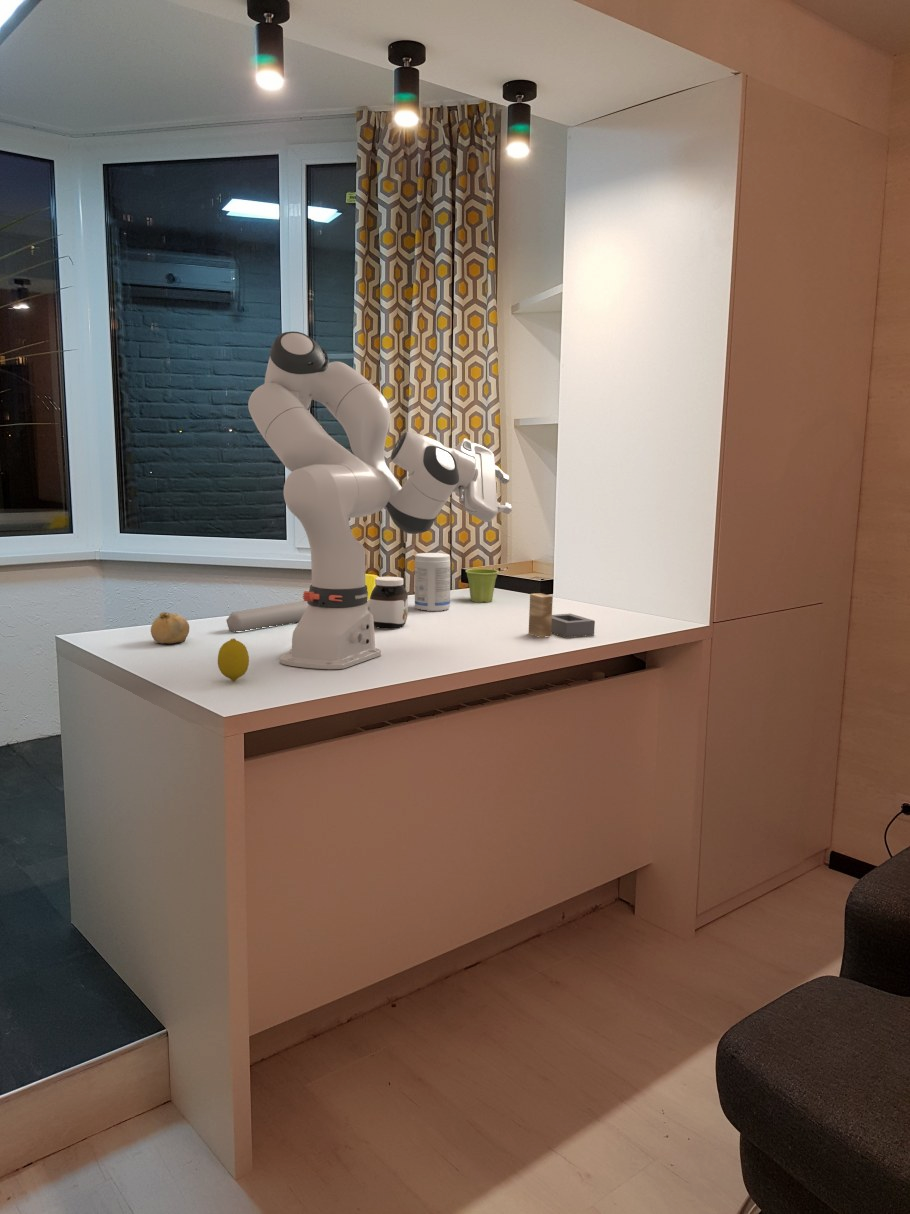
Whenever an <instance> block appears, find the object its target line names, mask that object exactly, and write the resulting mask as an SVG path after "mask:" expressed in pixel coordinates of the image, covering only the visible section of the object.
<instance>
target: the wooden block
mask: <svg viewBox="0 0 910 1214" xmlns="http://www.w3.org/2000/svg"><path fill="white" fill-rule="evenodd" d="M553 597H554V596H552V595H547V594H545V593H541V592H540V593H539V592H538V593H530V594H529V609H528V610H529V613H528V615H529V616H528V634H529V633H530V634H529V635H531V634H533V635H532V636H534V635H536V636H535V637H537V636H539V637H538V638H540V637H541V638H546V637H545V636H551V637H552V633H551V622H552V615H553Z"/></svg>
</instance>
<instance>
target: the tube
mask: <svg viewBox="0 0 910 1214" xmlns="http://www.w3.org/2000/svg"><path fill="white" fill-rule="evenodd" d="M307 607H308V603H307V601H304V600H302V601H301V600H300V601H295V602H288V603H284V604H276V605H269V606H263V607H258V608H252V609H251V608H250V609H246V610H239V611H233V612H231V613H230V615H229V616H228V617H227V619H226V620H225V621H226V623H227V624H226V625H227V627H228V630H229V632H232V631H235V632H234V633H237V632H236V631H245V630H250V629H256V628H262V627H269V626H275V627H277V626H276V625H281V626H283V625H282V624H287V625H290V624H289V623H292V624H297V623H296V622H298V623H299V621H300V619H301V617H302V616H303V614H304V612H305V611H306V609H307ZM269 628H270V627H269Z"/></svg>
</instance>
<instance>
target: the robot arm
mask: <svg viewBox="0 0 910 1214" xmlns="http://www.w3.org/2000/svg"><path fill="white" fill-rule="evenodd" d="M312 401H315V402H318V403H320V404H321V405H323V406H324V407H325V408H326V409H327V410H328V411H329V413H330V414H331V415H332V416H333V417H334V418H335V419H336V421H338V423H340V425H341V426H342V428H343V430H344V432H345V434H346V436H347V439H348V442H349V446H350V447H349V448H350V450H348V449H347V448H346V447H344V446H342V444H340V443H339V442H337V441H336V440H335V439H334V438H333V437H332V436H331V435H330V434H329V433H327V431H326V430H325V429H324V428H323V426H322V425H321V423H319V422H318V420H317V419H316V418H315V417H314V416H313V415H312V413H311V412H310V410H311V407H312ZM247 402H248V404H247V407H248V411H249V414H250V416H251V419H252V421H253V423H254V424H255V426H256V428H257V430H258V432H259V433H260V434H261V436H262V438H263V440H265V442H266V443H267V445H268V446H269V447H270V448H271V450H272V451H273V453H274V454H275V455H276V456H277V457H278V458H279V461H280V462H281V463H282V465H284V467H285V468H287V470H289V471H290V473H289V474H288V475H287V477H286V479H285V482H284V485H283V499H284V502H285V505H286V507H287V509H288V510H289V511H290V512H291V514H293V515H294V516H295V517H296V518H297V520H299V522H300V523H301V525H302V527H303V529H304V531H305V533H306V536H307V541H308V542H309V548H310V549H309V550H310V559H311V562H310V563H311V584H310V586H309V591H307V590H304V591H303V594H302V600H303V601H307V603H308V607H307V609H306V611H305V612H304V614H303V616H302V617H301V619H300V621H299V622H298V623H296V626H295V628H294V629H293V632H292V637H291V648H290V649H289V650H288V651H286V652H285V653H284V654H283V655H282V656H281V657H280V658H279V663H280V664H283V665H286V666H290V667H291V666H292V667H298V668H305V669H306V668H307V669H317V670H342V669H346V668H349V667H352V666H355V665H357V664H361V663H363V662H367V661H369V660H371V659H375V658H378V657H380V656H382V651H381V649H379V648H376V641H375V626H374V620H373V615H372V614H371V613H370V612H369V610H368V608H367V606H366V603H367V601H368V595H369V592H368V586H367V585H366V550H365V546H364V545H363V544H362V543H361V542H360V541H359V540H357V539H356V538H355V536H354V534H353V532H352V530H351V526H350V522H349V519H354V518H364V517H367V516H371V515H373V514H376V513H379V512H381V511H383V509H384V508H386V510H387V512H388V515H389V517H390V518H391V520H392V522H393V524H394V525H395V526H396V527H397V528H398V529H400V531H403V532H404V533H406V534H411V535H416V534H423V533H425V532H428V531H430V529H432V526H433V525H434V522H435V521H436V519H437V517H438V515H439V513H440V512H441V510H442V509H443V507H444V506H445V505H446V503H447V501H448V500H449V498H450V497H451V496H452V493H455V494H458V495H459V498H458V501H459V504H460V505H461V506H462V509H464V510H465V512H467V513H468V514H470V515H471V516H473V517H475V518H476V519H478V520H480V521H483V522H485V523H489V522H491V521H493V519H495V518H496V516H497V515H498V514H499V513H504V514H505V515H509V514H510V513H511V512H512V511H513V510H512V509H513V508H512V504H509V503H508V502H504V504H501V503H500V502H499V501H498V491H497V480H496V479H498V481H499V483H501V484H503V485H506V484H508V483H509V482H510V475H509V474H507V473H505V472H504V471H503V470H502V469H501V468H500V467H499V466H498V465H496V463H495V462H496V461H495V454H494V453H493V452H492V451H491V450H490V449H489V448H487V447H485V446H483V445H481V444H479V443H476V442H472V441H471V440H470V439H468V438H463V439H462V440H461V441H460V442H459V443H458V444H457V445H456V446H455V447H453V448H452V447H448V446H445V445H443V444H442V442H440V441H439V440H436V439H434V438H431V437H429V436H426V435H423V434H420V433H418V432H414V431H405V432H403V433H402V434H401V435H400V437H399V438H398V440H397V441H396V443H395V445H394V447H393V448H392V452H391V454H390V461H391V462H392V463H393V464H395V466H397V467H399V468H401V469H403V470H405V471H407V472H408V474H409V476H408V478H407V479H406V481H405V483H404V484H403V486H401V484H400V482H399V481H398V480H397V478H396V476H395V475H394V474H393V473H392V471H391V470H390V468H389V467H388V465H387V464H386V459H385V447H386V440H387V435H388V431H389V428H390V424H391V423H390V422H391V410H390V405H389V402H388V400H387V399H386V397H385V396H384V395H383V394H382V392H380V391H379V389H378V388H377V387H375V386H374V384H372V383H371V382H370V381H369V380H368V379H367V378H366V377H365V376H364V375H362V374H361V373H360V372H359V371H357V370H355V369H354V368H353V367H351V366H349V365H348V364H346V363H345V362H342V361H330V360H329V356H328V354H327V352H326V350H325V349H323V348H322V347H321V346H320V345H319V344H318V342H317V341H315V340H314V339H313V338H312V337H310V336H309V335H307V334H305V333H303V332H299V331H284V332H282V333H280V334H279V335H277V336H276V337H275V339H274V340H273V342H272V345H271V348H270V350H269V359H268V363H267V368H266V372H265V375H264V383H263V384H261V385H260V386H258V387H257V388H255V389H254V390H253V392H252V393H251V394H250V396H249V399H248V401H247Z"/></svg>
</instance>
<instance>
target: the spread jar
mask: <svg viewBox="0 0 910 1214" xmlns="http://www.w3.org/2000/svg"><path fill="white" fill-rule="evenodd" d="M374 584H375V586H374V587H373V589H372V591H371V593H370V597H369V599H367V603H366V606H367V608H368V610H369V612H370V613H371V614H372V615H373V620H374V628H377V627H379V628H378V629H381V628H397V629H401V628H403V627H404V626H405V624H406V623H407V620H408V612H409V611H408V609H409V608H408V607H409V606H408V605H409V596H408V595H409V594H408V592H407V589H406V588H405V587H404V578H403V577H399V576H398V577H397V576H378V577H375V578H374ZM400 627H401V628H400Z"/></svg>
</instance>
